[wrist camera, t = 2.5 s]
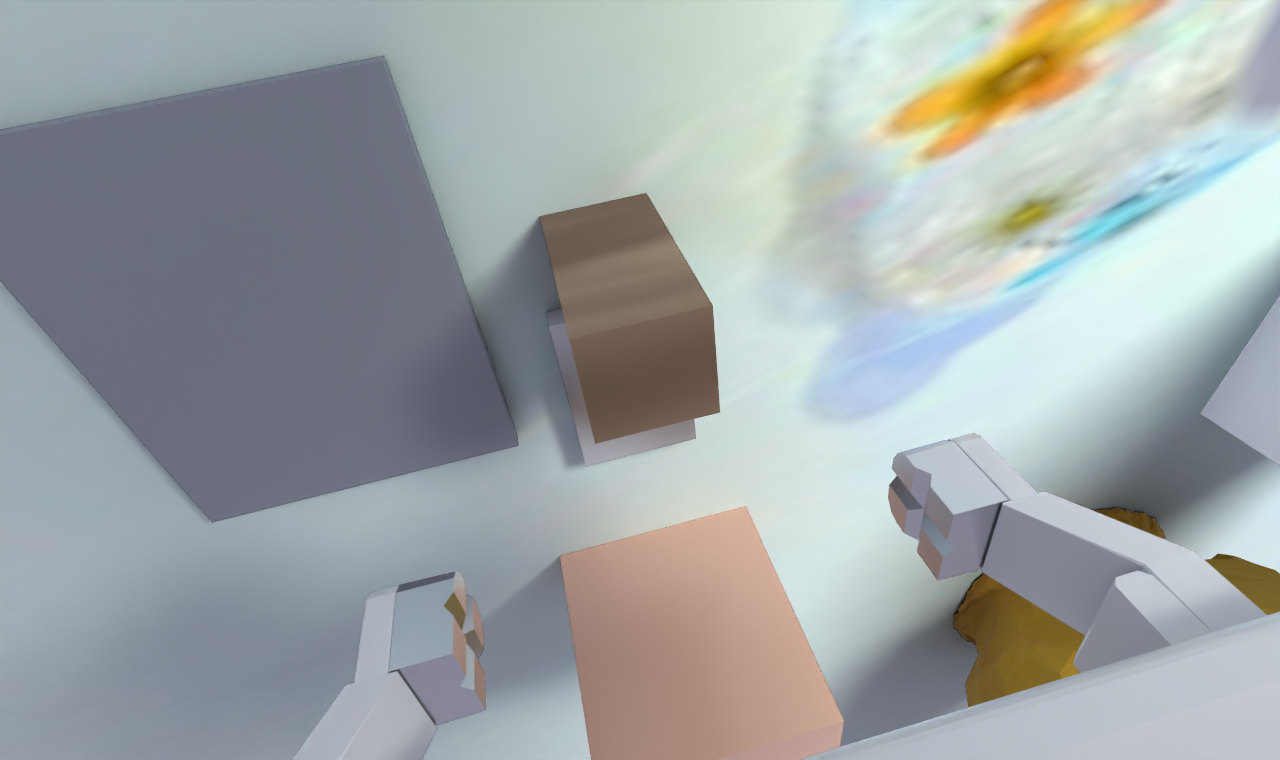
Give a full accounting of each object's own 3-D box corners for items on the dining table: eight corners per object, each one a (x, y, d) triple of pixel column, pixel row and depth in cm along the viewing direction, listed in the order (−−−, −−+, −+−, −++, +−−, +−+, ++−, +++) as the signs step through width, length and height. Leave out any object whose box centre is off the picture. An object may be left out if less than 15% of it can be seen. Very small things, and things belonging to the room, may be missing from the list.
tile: (559, 555, 27) (596, 796, 20) (745, 505, 27) (844, 720, 20) (570, 584, 28) (607, 819, 21) (746, 536, 29) (839, 747, 22)
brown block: (521, 220, 18) (544, 344, 13) (663, 189, 18) (735, 299, 13) (582, 450, 23) (614, 593, 19) (689, 423, 24) (746, 557, 19)
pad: (-94, 147, 14) (-110, 155, 13) (384, 55, 15) (382, 60, 14) (216, 510, 21) (211, 522, 21) (517, 435, 22) (518, 445, 22)
